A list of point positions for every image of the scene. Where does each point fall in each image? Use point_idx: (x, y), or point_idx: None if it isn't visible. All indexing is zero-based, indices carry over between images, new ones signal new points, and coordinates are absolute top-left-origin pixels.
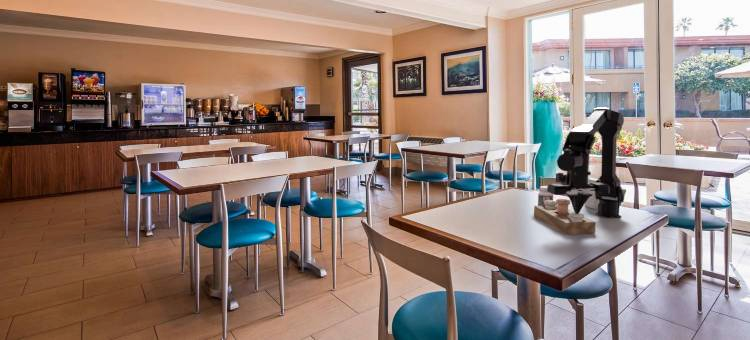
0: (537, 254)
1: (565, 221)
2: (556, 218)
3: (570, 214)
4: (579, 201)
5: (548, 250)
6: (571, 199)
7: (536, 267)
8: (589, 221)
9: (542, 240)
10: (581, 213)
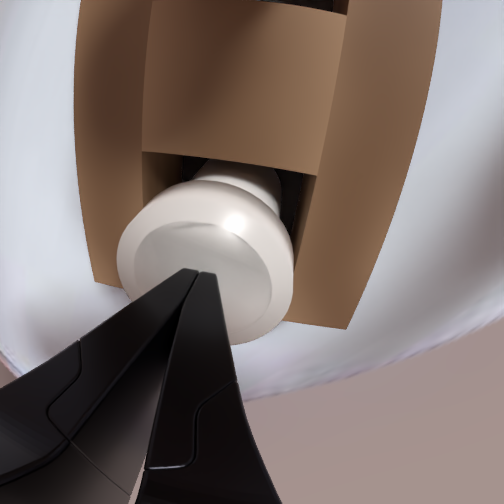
0: (17, 348)
1: (99, 248)
2: (79, 105)
3: (122, 271)
4: (133, 482)
5: (37, 344)
6: (32, 411)
7: None
8: (307, 309)
9: (22, 271)
10: (259, 303)
